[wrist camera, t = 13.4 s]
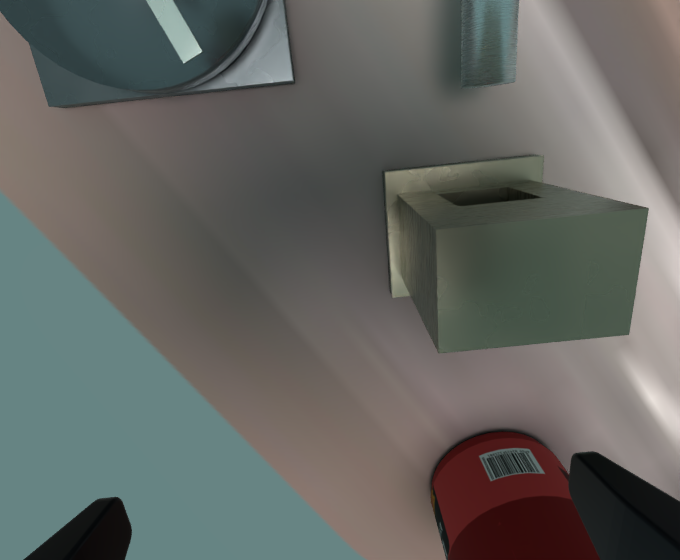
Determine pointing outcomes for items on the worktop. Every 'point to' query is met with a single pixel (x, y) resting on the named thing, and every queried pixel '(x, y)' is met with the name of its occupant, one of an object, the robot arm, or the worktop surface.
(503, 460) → the canned food
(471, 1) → the block-headed metal hammer
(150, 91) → the handwheel
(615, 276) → the grey-green hollow piece
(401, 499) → the worktop surface
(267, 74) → the wheel base
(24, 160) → the worktop surface
